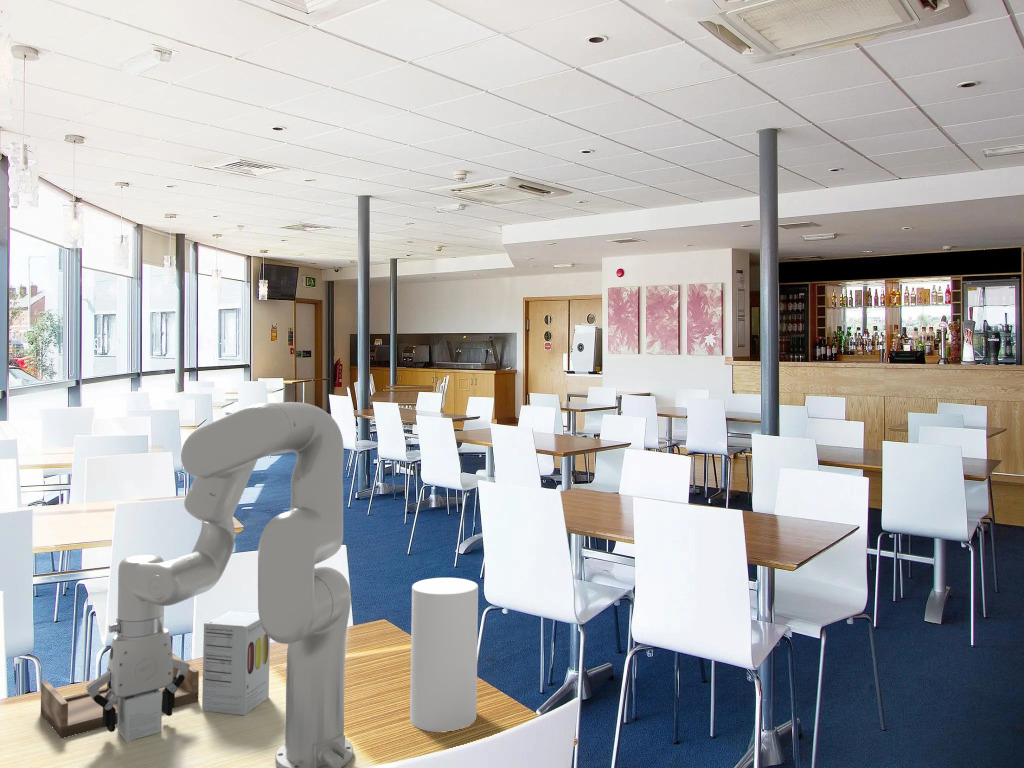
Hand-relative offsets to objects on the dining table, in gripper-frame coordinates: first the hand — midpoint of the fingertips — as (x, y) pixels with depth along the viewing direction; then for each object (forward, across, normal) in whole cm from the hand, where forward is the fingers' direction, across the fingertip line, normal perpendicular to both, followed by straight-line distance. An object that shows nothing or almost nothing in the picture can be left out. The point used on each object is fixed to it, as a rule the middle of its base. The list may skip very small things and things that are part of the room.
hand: (139, 721), depth 139 cm
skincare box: (+2, 0, 0) cm, 2 cm away
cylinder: (+2, +44, -32) cm, 54 cm away
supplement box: (+2, +18, 0) cm, 18 cm away
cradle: (+2, +1, +13) cm, 13 cm away
